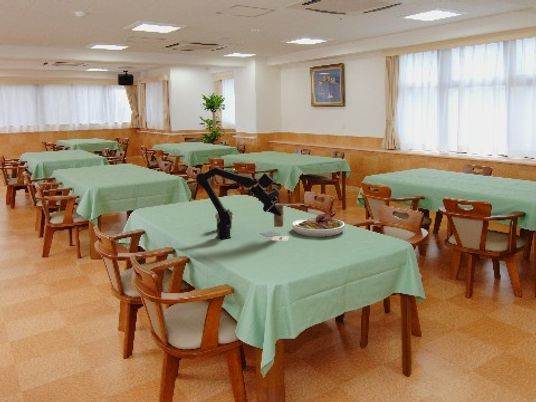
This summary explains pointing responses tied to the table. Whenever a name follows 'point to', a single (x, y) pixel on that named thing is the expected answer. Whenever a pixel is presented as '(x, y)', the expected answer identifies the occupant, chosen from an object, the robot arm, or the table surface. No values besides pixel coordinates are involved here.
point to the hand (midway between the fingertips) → (281, 214)
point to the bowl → (318, 226)
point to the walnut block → (279, 219)
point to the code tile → (280, 238)
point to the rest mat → (270, 234)
